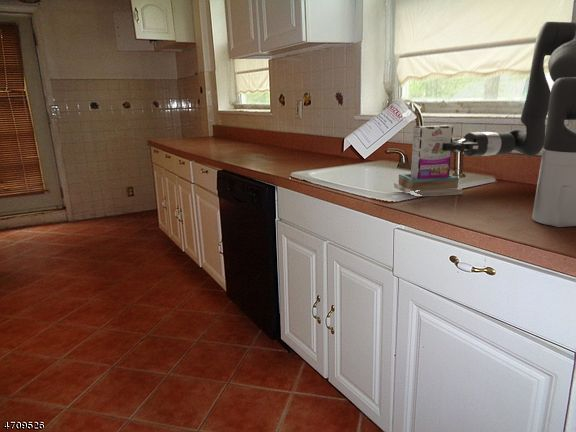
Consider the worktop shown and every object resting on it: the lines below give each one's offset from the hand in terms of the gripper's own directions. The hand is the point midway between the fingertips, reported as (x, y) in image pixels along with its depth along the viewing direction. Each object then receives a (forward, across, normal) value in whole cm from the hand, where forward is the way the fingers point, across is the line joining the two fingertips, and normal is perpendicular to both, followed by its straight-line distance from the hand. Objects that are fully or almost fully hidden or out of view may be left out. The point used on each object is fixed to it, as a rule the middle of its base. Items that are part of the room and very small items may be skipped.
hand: (435, 145), depth 133 cm
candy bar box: (+1, 0, +10) cm, 11 cm away
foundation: (+2, 0, +14) cm, 14 cm away
